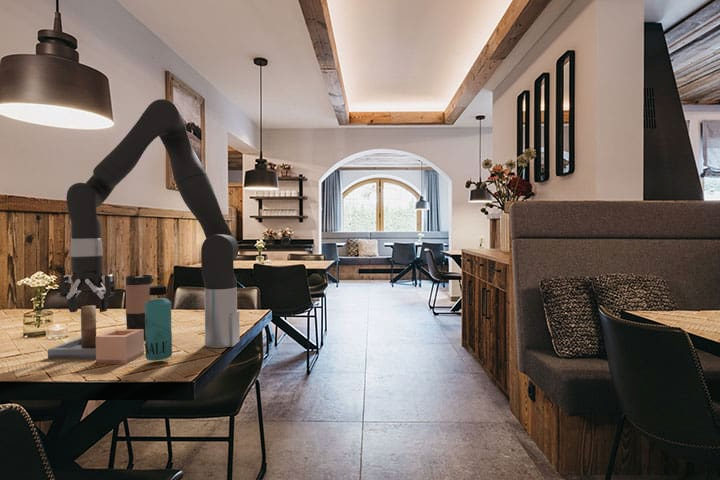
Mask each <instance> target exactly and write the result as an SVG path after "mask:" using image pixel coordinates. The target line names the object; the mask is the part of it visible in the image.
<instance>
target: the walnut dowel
mask: <svg viewBox="0 0 720 480" xmlns="http://www.w3.org/2000/svg"><path fill="white" fill-rule="evenodd" d="M96 310H97V305H92V304H91V305H84V306H80V338H81V348H96V336H97V313H96V312H97V311H96Z"/></svg>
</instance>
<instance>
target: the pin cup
mask: <svg viewBox="0 0 720 480" xmlns="http://www.w3.org/2000/svg"><path fill="white" fill-rule="evenodd" d="M144 355H145V340H144V329H127V328H125V329H123V328H122V329H120V328H118V329H113V330H109V331H107V332H104V333H102V334H98V335H96V359H95V364H97V365H102V364H103V365H104V364H105V365H106V364H109V365H111V364H113V365H118V364H119V365H122V364H123V365H125V364H129V363H130V362H133V361H134V360H136V359H138V358H140V357H142V356H144Z"/></svg>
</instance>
